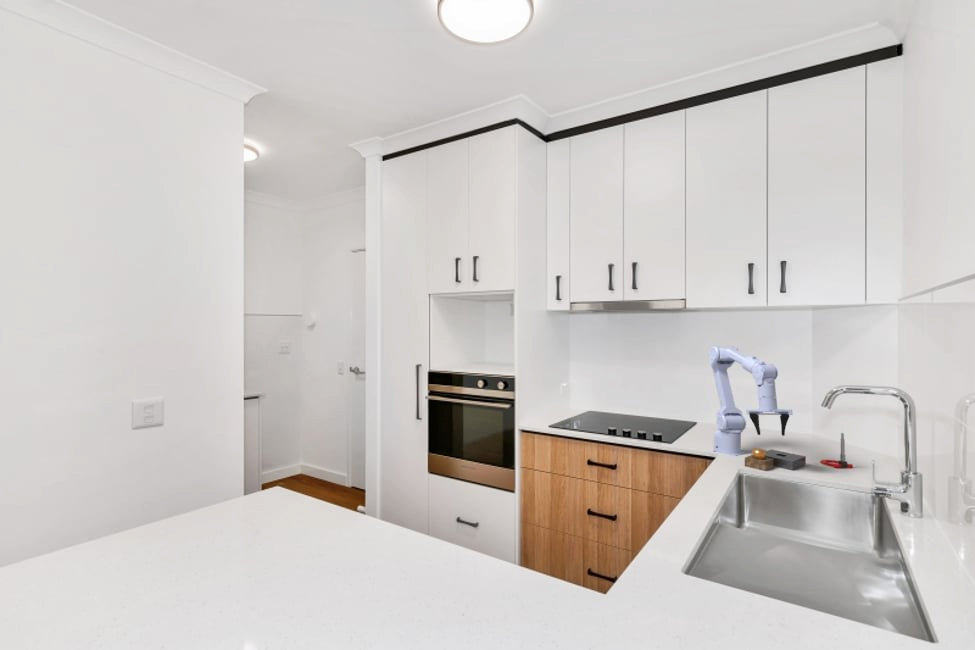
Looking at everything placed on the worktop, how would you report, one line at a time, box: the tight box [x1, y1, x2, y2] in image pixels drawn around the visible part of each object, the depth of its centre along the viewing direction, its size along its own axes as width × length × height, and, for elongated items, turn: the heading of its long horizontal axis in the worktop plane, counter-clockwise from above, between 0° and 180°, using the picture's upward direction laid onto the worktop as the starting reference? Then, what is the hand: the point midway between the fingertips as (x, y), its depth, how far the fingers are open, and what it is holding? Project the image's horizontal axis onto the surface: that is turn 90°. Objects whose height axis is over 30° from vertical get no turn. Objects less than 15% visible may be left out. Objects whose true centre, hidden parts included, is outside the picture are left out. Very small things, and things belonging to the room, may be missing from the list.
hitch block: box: [766, 449, 807, 471], centre depth 180 cm, size 12×12×4 cm
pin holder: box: [744, 454, 774, 472], centre depth 176 cm, size 7×7×4 cm
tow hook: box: [820, 432, 854, 469], centre depth 181 cm, size 8×13×9 cm
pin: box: [751, 447, 767, 460], centre depth 176 cm, size 4×4×6 cm
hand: (770, 435), depth 173 cm, fingers open, 7 cm apart
